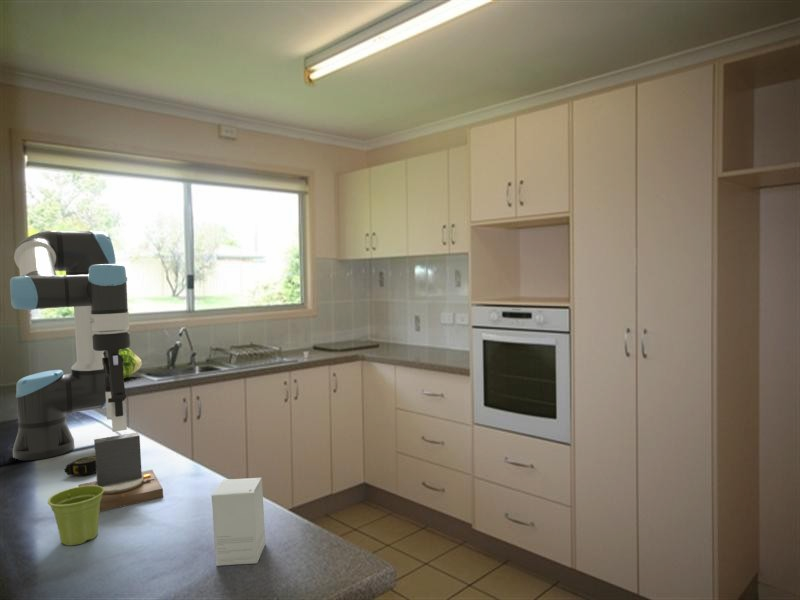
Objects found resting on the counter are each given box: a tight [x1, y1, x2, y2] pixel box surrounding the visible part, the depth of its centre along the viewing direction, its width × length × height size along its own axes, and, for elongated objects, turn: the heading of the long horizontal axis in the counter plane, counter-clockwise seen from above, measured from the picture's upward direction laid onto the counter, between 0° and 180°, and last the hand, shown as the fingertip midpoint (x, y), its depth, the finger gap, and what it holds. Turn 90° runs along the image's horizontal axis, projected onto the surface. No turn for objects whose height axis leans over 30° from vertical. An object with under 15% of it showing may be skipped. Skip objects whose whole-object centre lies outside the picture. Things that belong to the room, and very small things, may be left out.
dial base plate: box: [77, 469, 164, 512], centre depth 126 cm, size 15×16×2 cm
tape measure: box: [63, 455, 96, 476], centre depth 141 cm, size 7×7×4 cm
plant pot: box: [47, 485, 104, 546], centre depth 105 cm, size 9×9×9 cm
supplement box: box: [211, 477, 266, 567], centre depth 97 cm, size 7×7×13 cm
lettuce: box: [119, 347, 143, 380], centre depth 274 cm, size 19×23×18 cm
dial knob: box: [93, 432, 151, 494], centre depth 126 cm, size 10×12×11 cm
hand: (116, 424), depth 125 cm, fingers open, 13 cm apart
